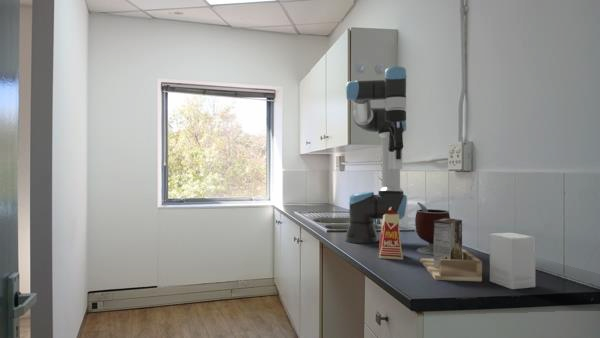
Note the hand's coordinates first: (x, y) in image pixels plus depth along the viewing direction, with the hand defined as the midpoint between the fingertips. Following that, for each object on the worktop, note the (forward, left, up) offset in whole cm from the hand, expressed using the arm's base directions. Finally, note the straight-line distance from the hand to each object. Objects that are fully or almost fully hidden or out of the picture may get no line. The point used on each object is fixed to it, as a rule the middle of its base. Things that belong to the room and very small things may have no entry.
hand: (395, 169), depth 139 cm
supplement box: (+20, +32, -35) cm, 51 cm away
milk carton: (-13, 0, -35) cm, 37 cm away
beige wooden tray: (+6, +17, -35) cm, 39 cm away
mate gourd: (-24, +18, -35) cm, 46 cm away
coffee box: (+6, +17, -34) cm, 38 cm away
